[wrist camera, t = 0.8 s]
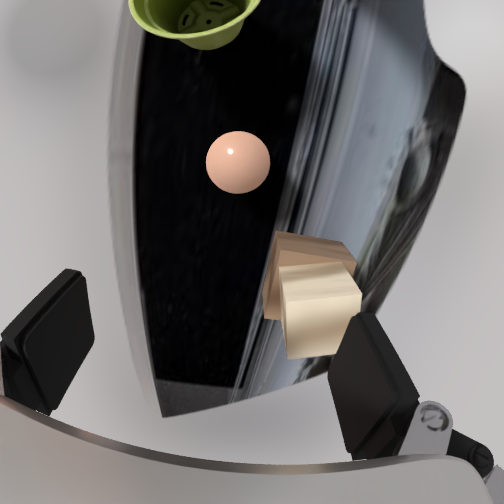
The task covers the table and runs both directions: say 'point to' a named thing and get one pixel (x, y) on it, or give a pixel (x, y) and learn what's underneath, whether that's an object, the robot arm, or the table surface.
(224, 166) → the peach rounded solid
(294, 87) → the table surface
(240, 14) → the plant pot
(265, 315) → the walnut block
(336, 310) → the beech block
